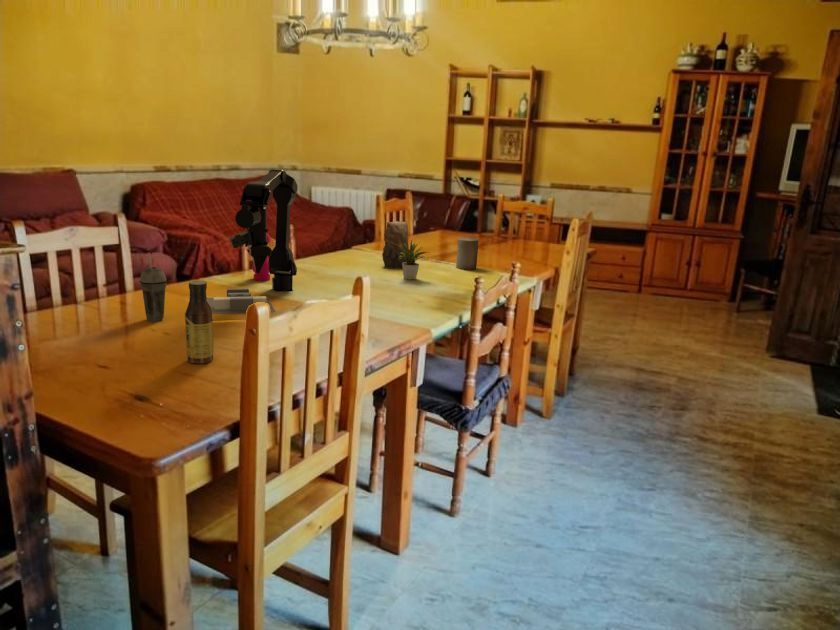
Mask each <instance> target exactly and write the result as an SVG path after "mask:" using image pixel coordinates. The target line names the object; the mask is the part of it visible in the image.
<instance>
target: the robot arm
mask: <svg viewBox="0 0 840 630" xmlns="http://www.w3.org/2000/svg"><path fill="white" fill-rule="evenodd" d="M298 187H299V186H298V184H297V181H296V180H295V178H293V176H291V175H289V174H288V173H287V171H286V170H284V169H278V168H277V169H275V168H274V169H273V168H272V169H269V171H268V172H267V174H266V175H264V176H263V177H261V178H260V179H259V180H258V181H250V182H248V183H246V184H245V186H244V187H243V190H242V194H241V198H240V202H239V206H240V207H241V209H239V210H238V211H237V212H236V214H235V216H234V217H235V222H236V224H237V225H238V226H239V227H240V228H241V229H245V230H246V231H243V232H240V233H236V234H234V235H231V236H229V237H228V239H229V241H230V244H231V247H232V248H233V249H238V248H239V247H242V246H244V247H245V248H246V247H248V246H249V249H246V251H247V253H248V254H249V256H251V257H252V261H253V262H254V267H255V271H256V273H260V271H261V269H262V266H263V264H264V262H265V260H266V258H267V256H268V259H269V261H268V265H269V274H270V275H273V277H271V279H272V280H271V286H272V287H271V289H272V290H273V291H275V293H276V292H279V293H280V292H285V293H286V292H294V290H293V286H294V285H293V281H294V279H293V276H297V275H298V274H297V272H298V268H297V265H296V261H295V260H294V253H293V252H292V250H291V248H290V230H291V229H290V226H291V225H290V224H291V222H290V221H291V205H292V204H293V202H294V201H295V199H296V197H297V193H298ZM271 198H272V199H273V200H274V202H275V203H276V217H275V219H276V221H275V240H274V241H275V245H274V247H273V249H272V248H271V247H270V246H268V245H269V242H268V241H267V233H268V232H269V229H268V226H267V225H268V223H267V221H268V214H267V213H268V208H269V206H268V205H269V204H270V200H271ZM253 262H252V263H253Z"/></svg>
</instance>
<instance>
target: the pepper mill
mask: <svg viewBox="0 0 840 630" xmlns="http://www.w3.org/2000/svg"><path fill="white" fill-rule="evenodd" d="M270 240H271V237H270V234H269V233H268V232H267V241H268V243H269V242H270ZM268 246H269V244H268ZM269 247H270V246H269ZM268 261H269V256H267V258H266V260H265V262H264V264H263V266H262V269H261V271H260V273H256V271H255V267H254V262H252V266H251V267H252V268H251V270H252V271H253V272H254V274H253V280H255V281H260V282H262V281H264V282H266V281H270V280H271V274H270V272H269V265H268Z"/></svg>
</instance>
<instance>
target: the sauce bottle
mask: <svg viewBox="0 0 840 630" xmlns="http://www.w3.org/2000/svg"><path fill="white" fill-rule="evenodd" d="M207 285H208V284H207V281H205V280H199V279H198V280H197V279H196V280H191V281H189V282H188V289H189V301H188V304H187V308H186V310H185V312H184V323H185V324H184V325H185V326H184V327H185V328H184V329H185V346H186V347H185V349H186V356H187V361H188V363H191V364H195V365H196V364H207V363H209V362H211V361H213V360H214V327H213V326H214V323H213V322H214V321H213V314H212V309H211V307H210V305H209V304H208V302H207V301H206V300H207V298H208V297H207V288H208V287H207Z"/></svg>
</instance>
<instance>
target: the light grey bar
mask: <svg viewBox="0 0 840 630" xmlns="http://www.w3.org/2000/svg"><path fill="white" fill-rule="evenodd" d="M250 297H253V303H256V302H265V303H267V298H266V295H262V296H260V295H255V296H254V295H253V296H252V295H251V296H250ZM213 298H214V309H230V298H249V297H227V296H223V297H222V296H218V297H215V296H214V297H213Z"/></svg>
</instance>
